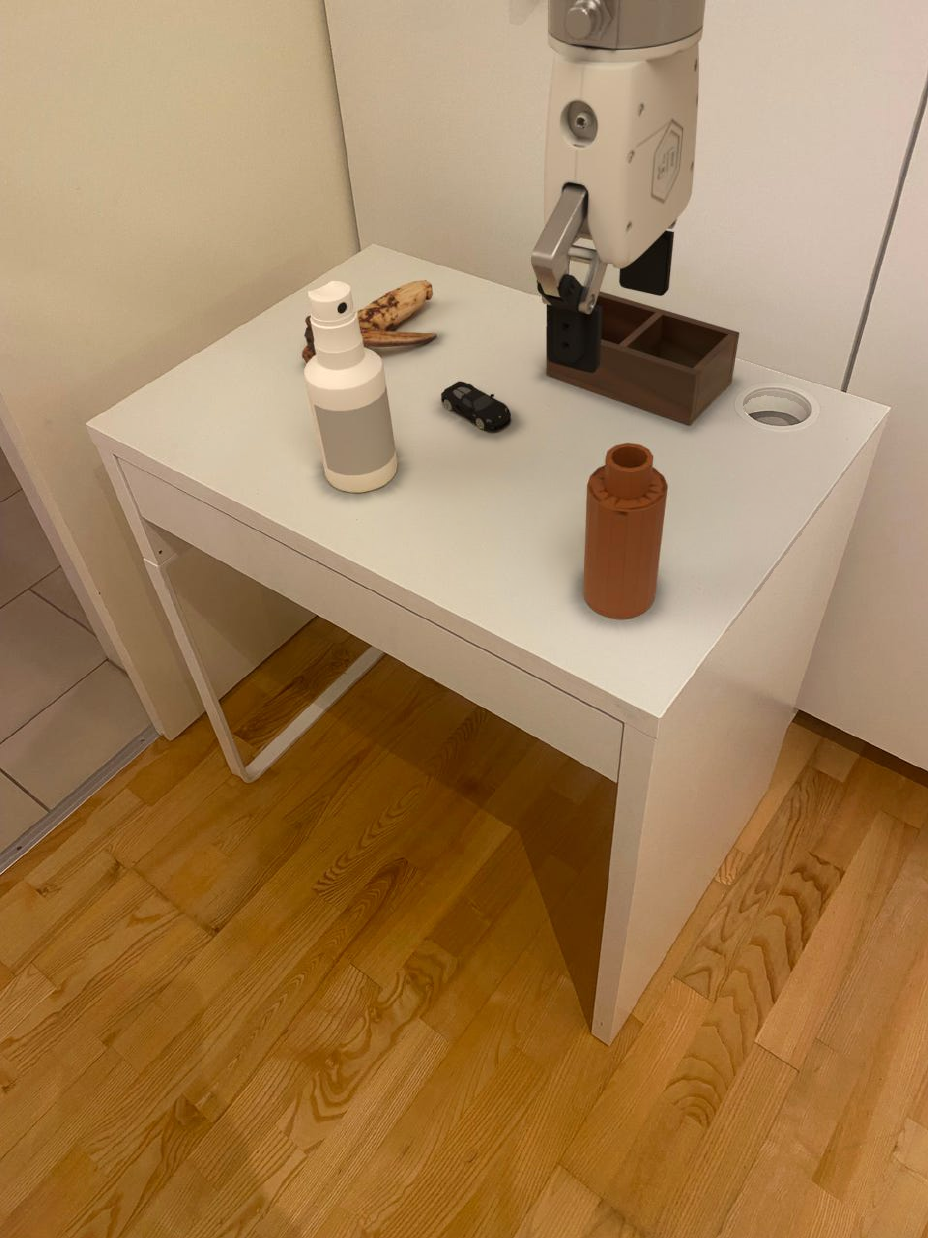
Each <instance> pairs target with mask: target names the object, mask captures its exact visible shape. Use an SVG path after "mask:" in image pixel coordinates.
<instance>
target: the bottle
mask: <svg viewBox="0 0 928 1238" xmlns="http://www.w3.org/2000/svg"><path fill="white" fill-rule="evenodd" d="M604 460H605V461H604V465H601V466H600V467H597V468H596V469H595V471H593V472H592V473H591V474H590V475H589V478H588V481H587V484H586V503H585V529H584V530H585V531H584V554H583V555H584V558H583V584H582V590H583V598H584V600H585V602H586V604H587V606H588V607H589V608H590V609H591V610H592V611H594V612H595V613H596V614H598V615H601V616H603V617H606V618H608V619H609V618H610V619H615V620H627V619H633V618H636V617H639V616H641V615H642V614H645V613H646V612H647V611H648V610H649V609H650V608H651V607H652V606H653V603H654V601H655V598H656V592H657V585H658V577H659V568H660V560H661V559H660V558H661V552H662V551H661V550H662V542H663V541H662V540H663V532H664V524H665V515H666V507H667V498H668V488H669V486H668V482H667V480H666V477H665V475H663V474H662V473H661V472H660V471H659V470H658V469H657V468H655V467H654V466H653V465H654V455H653V453H652V451H651V450H650V449H649V448H648V447H646V446H644V445H642V444H640V443H633V442H624V443H619V444H615V445H614V446H612V447H610V449H608V450H607V452H606V455H605V459H604Z"/></svg>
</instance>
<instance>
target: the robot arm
mask: <svg viewBox="0 0 928 1238" xmlns="http://www.w3.org/2000/svg"><path fill="white" fill-rule="evenodd" d="M706 1H707V0H547V45H548V46H549V47H550V49H552V50H553V51H555V52H554V53H553V58H552V68H551V76H550V85H549V95H548V97H549V98H548V104H547V118H546V119H547V120H546V131H545V132H546V133H545V148H544V149H545V151H544V152H545V153H544V171H543V172H544V173H543V175H544V176H543V217H544V218H543V219H544V220H543V221H544V227H543V230H542V232H541V233H540V235H539V238H538V240H537V241H536V244H535V246H534V248H533V249H532V252H531V257H530V263H531V267H532V269H533V273H534V274H535V278H536V283H537V284H536V288H537V291H538V293H539V294H540V295H541V301H542V303H543V305H546V326H547V358H548V360H549V361H550V362H551V363H554V364H558V365H562V366H565V367H569V368H573V369H577V370H580V371H584V372H588V373H594V372H595V371H596V370H597V369H598V368H599V366H600V356H601V332H602V308H603V306H598V305H595V304H596V301H597V298H598V294H599V291H601V287H602V285H603V282H604V279H605V274H606V272H607V268H608V265H612V267H613V268H615V269H619V273H618V274H619V277H618V283H619V285H620V287H621V288H623V289H626V290H631V291H635V292H640V293H644V294H650V295H653V296H658V297H662V296H664V295H665V294H666V293H667V292H668V291H669V289H670V282H671V281H670V278H671V269H672V261H673V260H672V259H673V249H674V238H675V236H674V235H675V231H672V230H674V229H675V226H676V224H677V221H678V218H679V217H680V216H681V215H682V213H683V212H684V211H685V210H686V208H687V207H688V205H689V203H690V200H691V197H692V194H693V186H694V174H695V161H696V159H695V158H696V144H697V127H698V111H699V110H698V108H699V87H700V85H699V84H700V53H699V52H700V50H699V49H700V48H699V43H700V41H701V40H702V38H703V32H704V31H703V30H704V19H705V9H706ZM668 229H669V230H668ZM579 239H582V240H583V239H584V240H589V241H592V243H593V246H594V248H590V247H585V246H580V245H575V243H577V241H579ZM571 262H577V263H579V264H586V265H589V266H588V269H587V272H586V275H585V277H584V281H583V284H581V282H580V281H579V280H578V279H577V278H576V277H575V276H574V275H573V274H569V273H568V269H569V266H570V263H571Z"/></svg>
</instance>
